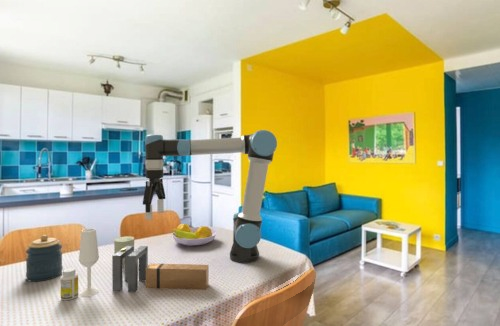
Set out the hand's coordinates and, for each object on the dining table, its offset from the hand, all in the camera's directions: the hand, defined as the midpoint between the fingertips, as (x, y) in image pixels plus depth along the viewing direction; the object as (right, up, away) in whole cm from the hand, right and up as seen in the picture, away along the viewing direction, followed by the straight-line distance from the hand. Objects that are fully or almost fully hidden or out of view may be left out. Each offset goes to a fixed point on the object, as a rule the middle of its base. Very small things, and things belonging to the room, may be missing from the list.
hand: (155, 216), depth 132 cm
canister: (-46, -25, -6) cm, 52 cm away
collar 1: (-8, -25, -14) cm, 30 cm away
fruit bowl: (+9, -24, +42) cm, 49 cm away
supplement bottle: (-24, -26, -25) cm, 42 cm away
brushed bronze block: (+14, -25, -15) cm, 33 cm away
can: (-18, -25, +10) cm, 32 cm away
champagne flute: (-18, -25, -21) cm, 38 cm away
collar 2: (-2, -25, -14) cm, 29 cm away
